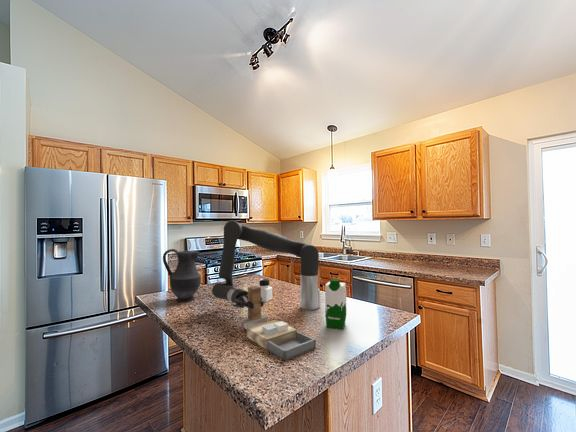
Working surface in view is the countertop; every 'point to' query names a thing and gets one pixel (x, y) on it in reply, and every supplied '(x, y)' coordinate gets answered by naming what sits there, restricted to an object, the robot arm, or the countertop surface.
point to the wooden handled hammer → (254, 314)
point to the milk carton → (335, 304)
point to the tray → (292, 346)
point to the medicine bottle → (265, 290)
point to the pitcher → (184, 275)
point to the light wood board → (277, 338)
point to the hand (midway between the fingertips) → (257, 305)
